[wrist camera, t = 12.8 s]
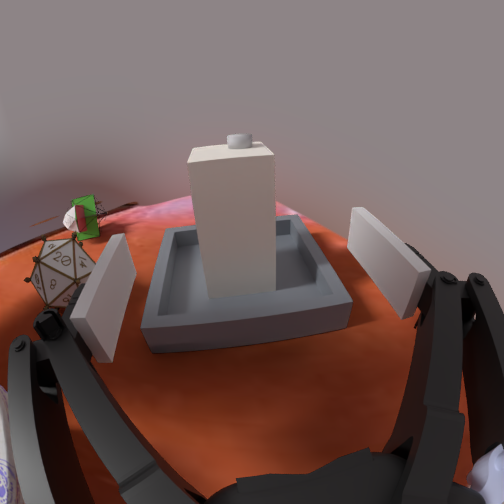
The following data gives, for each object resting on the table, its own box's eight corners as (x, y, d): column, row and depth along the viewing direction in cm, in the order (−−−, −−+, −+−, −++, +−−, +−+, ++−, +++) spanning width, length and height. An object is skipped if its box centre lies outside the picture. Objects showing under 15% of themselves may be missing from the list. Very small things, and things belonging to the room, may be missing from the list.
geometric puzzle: (79, 214, 41) (59, 190, 34) (112, 206, 43) (96, 180, 35) (77, 251, 39) (54, 230, 32) (112, 244, 40) (93, 221, 33)
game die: (103, 318, 28) (130, 245, 26) (64, 353, 20) (83, 264, 18) (52, 279, 28) (71, 207, 26) (7, 301, 19) (20, 214, 17)
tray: (152, 353, 20) (140, 328, 18) (170, 250, 33) (165, 228, 32) (346, 327, 21) (353, 301, 20) (296, 235, 35) (297, 214, 33)
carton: (208, 298, 24) (185, 148, 17) (208, 261, 29) (191, 137, 22) (275, 290, 25) (274, 140, 18) (264, 255, 30) (260, 131, 23)
